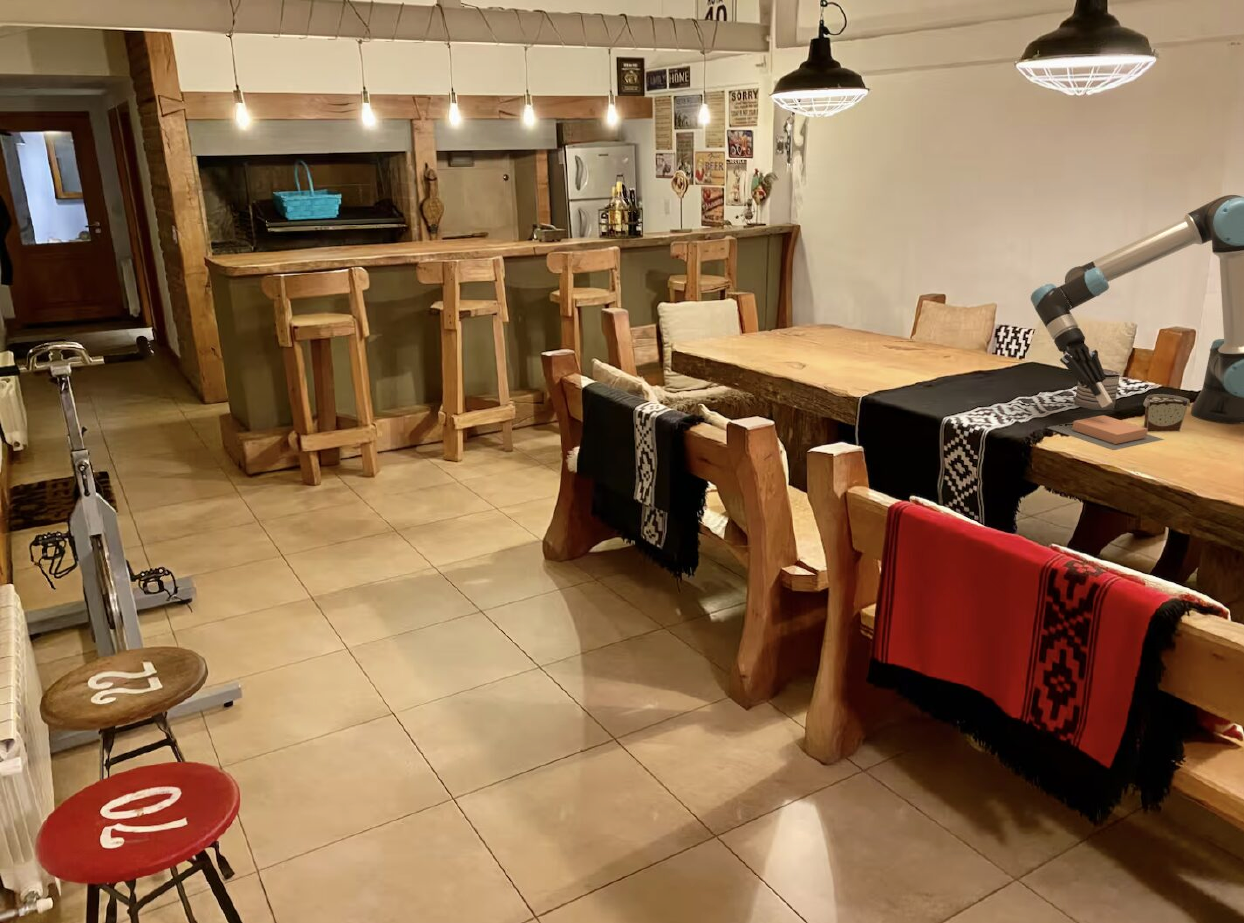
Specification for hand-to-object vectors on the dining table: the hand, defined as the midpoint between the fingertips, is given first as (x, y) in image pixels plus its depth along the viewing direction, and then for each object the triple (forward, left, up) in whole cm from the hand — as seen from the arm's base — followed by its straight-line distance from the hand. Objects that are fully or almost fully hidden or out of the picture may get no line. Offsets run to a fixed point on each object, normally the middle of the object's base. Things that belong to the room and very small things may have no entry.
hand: (1107, 404), depth 258 cm
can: (-14, -26, -9) cm, 31 cm away
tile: (+2, -5, -7) cm, 8 cm away
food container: (-18, -2, -9) cm, 20 cm away
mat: (0, 0, -9) cm, 9 cm away
